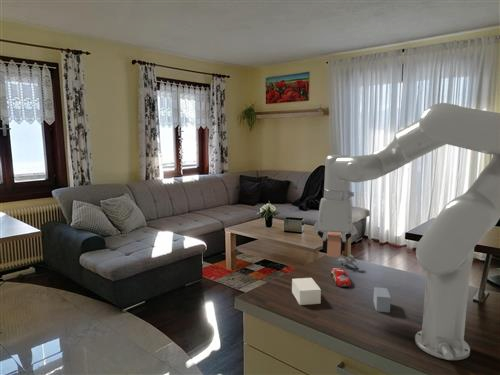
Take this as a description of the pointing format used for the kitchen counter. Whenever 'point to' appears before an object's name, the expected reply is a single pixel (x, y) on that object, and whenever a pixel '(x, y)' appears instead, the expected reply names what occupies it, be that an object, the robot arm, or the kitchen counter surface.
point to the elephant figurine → (347, 260)
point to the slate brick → (382, 300)
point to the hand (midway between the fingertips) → (333, 251)
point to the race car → (340, 277)
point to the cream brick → (306, 291)
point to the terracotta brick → (334, 244)
